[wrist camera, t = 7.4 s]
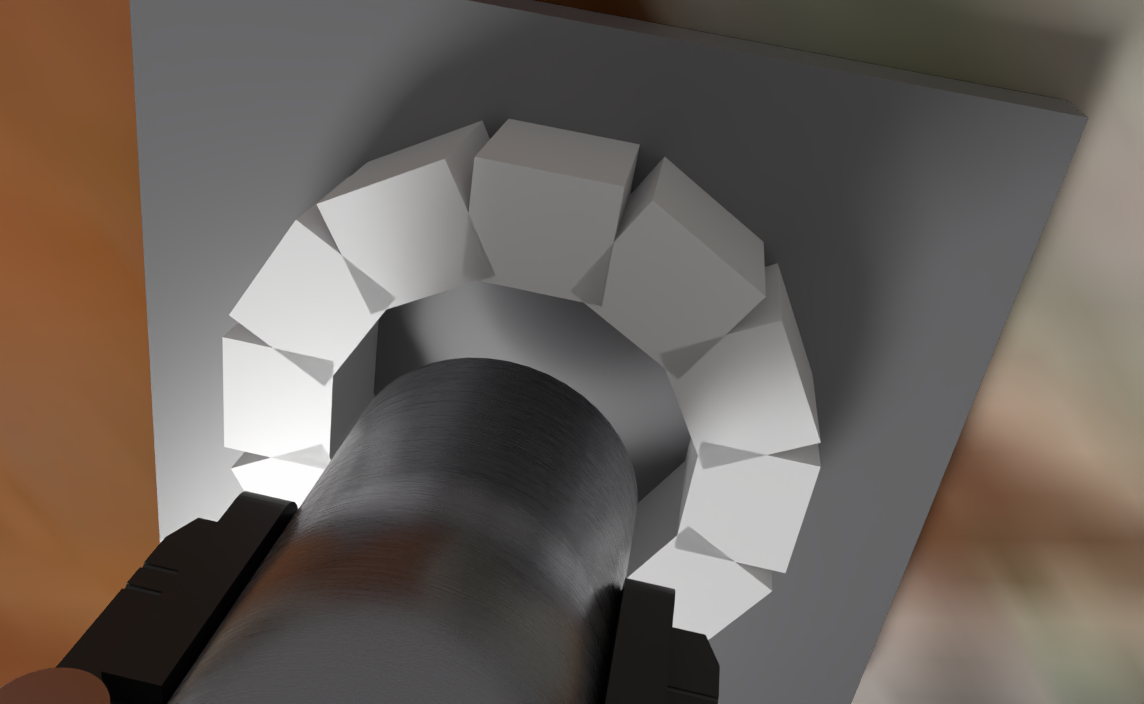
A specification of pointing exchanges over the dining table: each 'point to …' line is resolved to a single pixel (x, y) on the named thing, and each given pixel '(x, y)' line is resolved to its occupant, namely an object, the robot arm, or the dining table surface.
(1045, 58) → the dining table surface
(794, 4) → the dining table surface
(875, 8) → the dining table surface
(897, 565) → the mount
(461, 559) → the lens
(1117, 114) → the dining table surface
